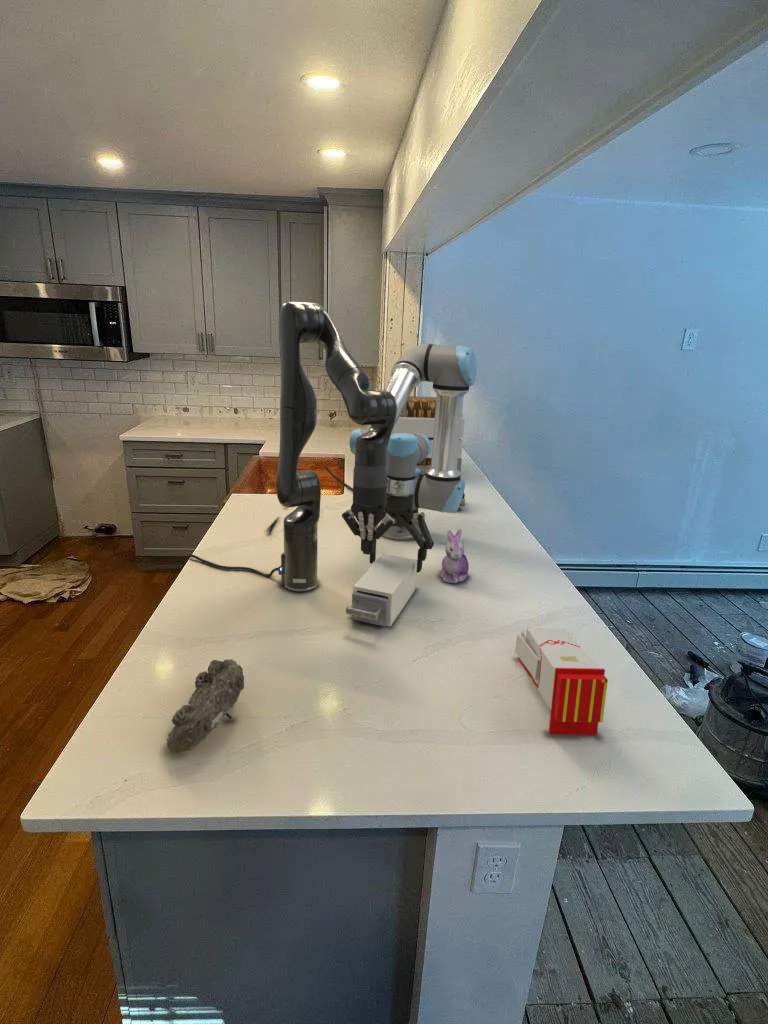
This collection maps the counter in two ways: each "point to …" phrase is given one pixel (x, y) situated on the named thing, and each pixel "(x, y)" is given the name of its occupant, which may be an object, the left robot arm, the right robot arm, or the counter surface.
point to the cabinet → (390, 582)
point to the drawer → (369, 608)
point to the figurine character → (462, 502)
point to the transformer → (423, 423)
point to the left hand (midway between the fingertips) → (367, 553)
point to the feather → (272, 525)
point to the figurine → (454, 559)
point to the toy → (564, 680)
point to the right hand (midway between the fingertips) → (395, 566)
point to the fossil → (206, 705)
